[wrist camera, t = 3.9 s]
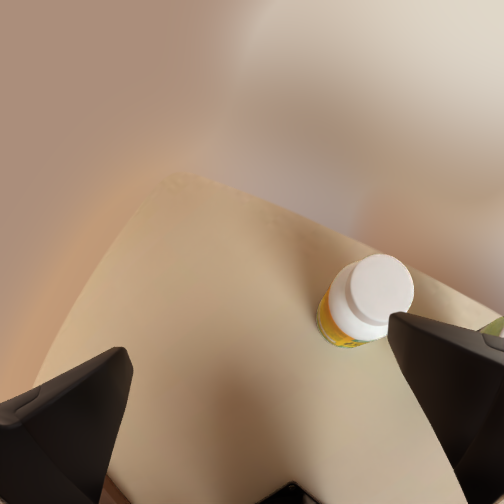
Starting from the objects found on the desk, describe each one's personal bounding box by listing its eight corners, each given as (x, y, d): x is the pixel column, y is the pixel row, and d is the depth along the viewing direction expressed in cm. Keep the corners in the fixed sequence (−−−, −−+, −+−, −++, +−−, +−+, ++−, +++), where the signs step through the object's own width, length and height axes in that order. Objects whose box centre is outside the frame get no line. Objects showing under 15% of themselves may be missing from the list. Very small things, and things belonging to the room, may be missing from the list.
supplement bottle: (356, 278, 24) (395, 228, 16) (383, 330, 22) (439, 304, 14) (304, 305, 24) (321, 264, 15) (331, 360, 22) (367, 352, 13)
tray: (77, 432, 20) (66, 434, 18) (138, 511, 16) (129, 518, 15) (35, 461, 18) (25, 463, 16) (86, 530, 14) (77, 535, 12)
